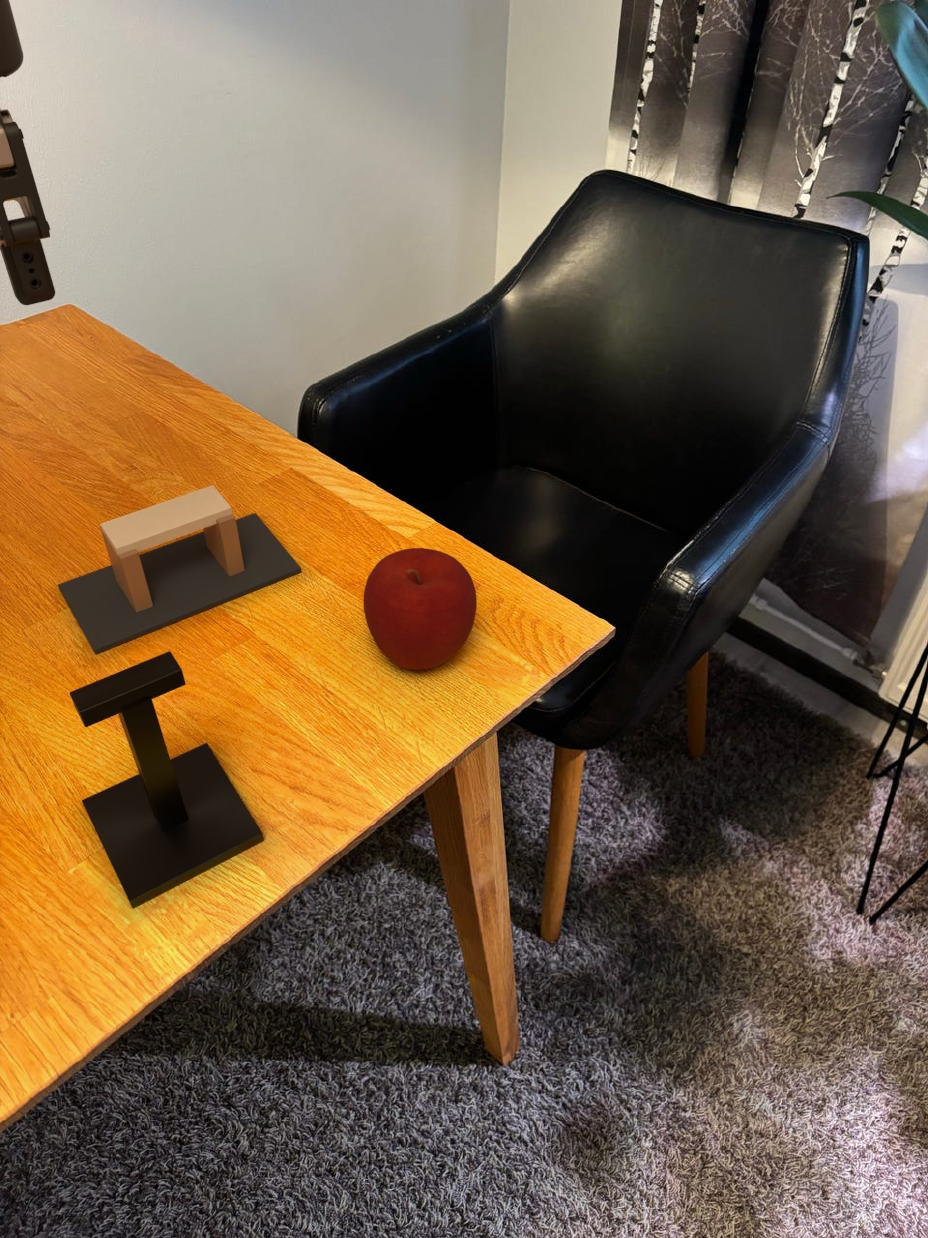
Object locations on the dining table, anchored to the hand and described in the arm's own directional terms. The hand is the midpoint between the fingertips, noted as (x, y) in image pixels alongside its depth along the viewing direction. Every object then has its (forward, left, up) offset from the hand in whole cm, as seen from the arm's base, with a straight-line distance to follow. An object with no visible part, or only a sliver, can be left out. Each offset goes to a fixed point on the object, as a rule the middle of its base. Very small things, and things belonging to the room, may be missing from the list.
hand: (16, 273), depth 61 cm
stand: (-4, -19, -34) cm, 39 cm away
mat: (+7, +6, -34) cm, 35 cm away
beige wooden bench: (+7, +6, -34) cm, 35 cm away
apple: (+21, -14, -34) cm, 43 cm away
